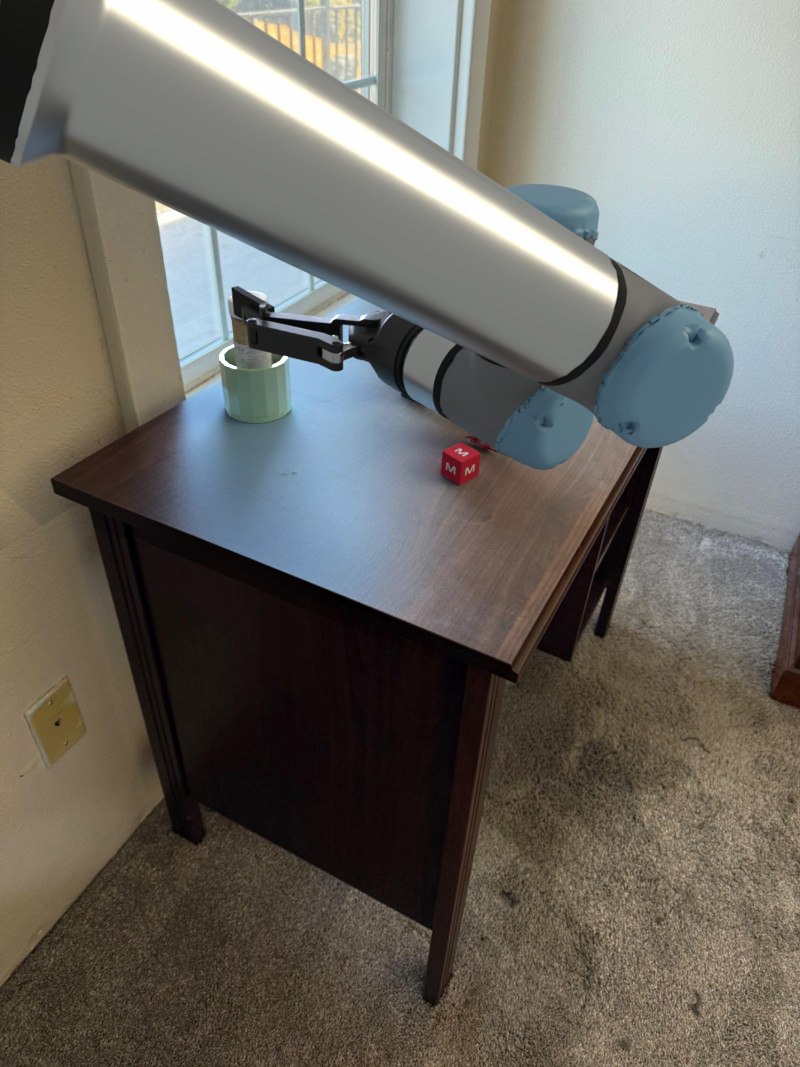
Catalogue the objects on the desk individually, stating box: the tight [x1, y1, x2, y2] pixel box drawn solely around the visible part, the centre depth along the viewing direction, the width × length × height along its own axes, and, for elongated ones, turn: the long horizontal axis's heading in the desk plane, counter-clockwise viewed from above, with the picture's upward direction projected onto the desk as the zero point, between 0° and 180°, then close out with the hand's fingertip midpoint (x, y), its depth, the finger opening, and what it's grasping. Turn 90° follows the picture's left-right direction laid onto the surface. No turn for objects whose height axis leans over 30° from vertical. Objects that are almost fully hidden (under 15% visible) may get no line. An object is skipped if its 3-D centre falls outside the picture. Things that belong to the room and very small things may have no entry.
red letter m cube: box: [440, 442, 482, 486], centre depth 82 cm, size 3×3×3 cm
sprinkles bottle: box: [227, 290, 273, 369], centre depth 89 cm, size 5×5×14 cm
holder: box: [218, 344, 292, 424], centre depth 92 cm, size 8×8×7 cm
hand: (293, 286), depth 77 cm, fingers open, 13 cm apart
